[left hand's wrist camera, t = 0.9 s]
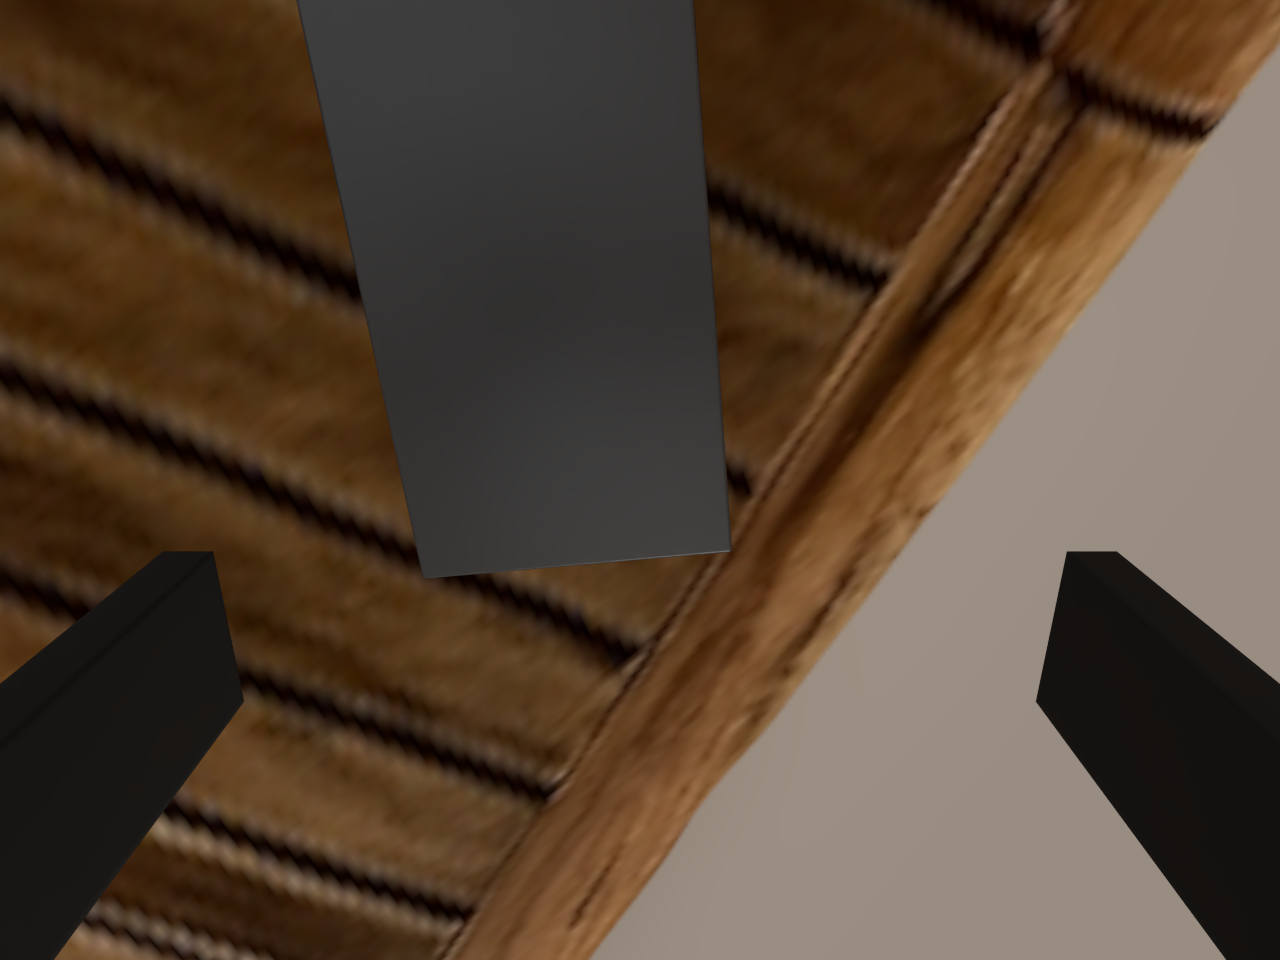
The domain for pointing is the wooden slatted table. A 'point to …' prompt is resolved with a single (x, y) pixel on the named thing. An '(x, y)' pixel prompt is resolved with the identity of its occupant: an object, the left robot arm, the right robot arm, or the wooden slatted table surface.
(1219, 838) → the left robot arm
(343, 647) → the wooden slatted table surface
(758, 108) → the wooden slatted table surface
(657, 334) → the box
